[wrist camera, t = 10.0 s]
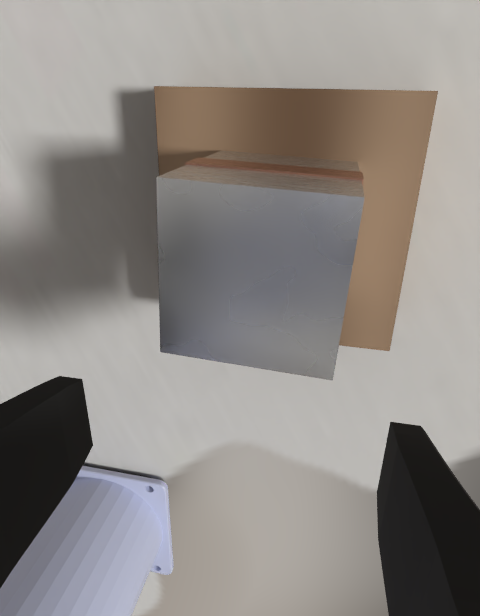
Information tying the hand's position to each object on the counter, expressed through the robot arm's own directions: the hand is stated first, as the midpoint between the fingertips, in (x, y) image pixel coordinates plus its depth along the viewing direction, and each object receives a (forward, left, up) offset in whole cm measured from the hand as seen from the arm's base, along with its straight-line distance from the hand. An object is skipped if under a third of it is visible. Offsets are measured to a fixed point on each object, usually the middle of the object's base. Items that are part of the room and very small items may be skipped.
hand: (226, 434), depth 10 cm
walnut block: (0, +3, -11) cm, 11 cm away
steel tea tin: (0, +3, -8) cm, 8 cm away
